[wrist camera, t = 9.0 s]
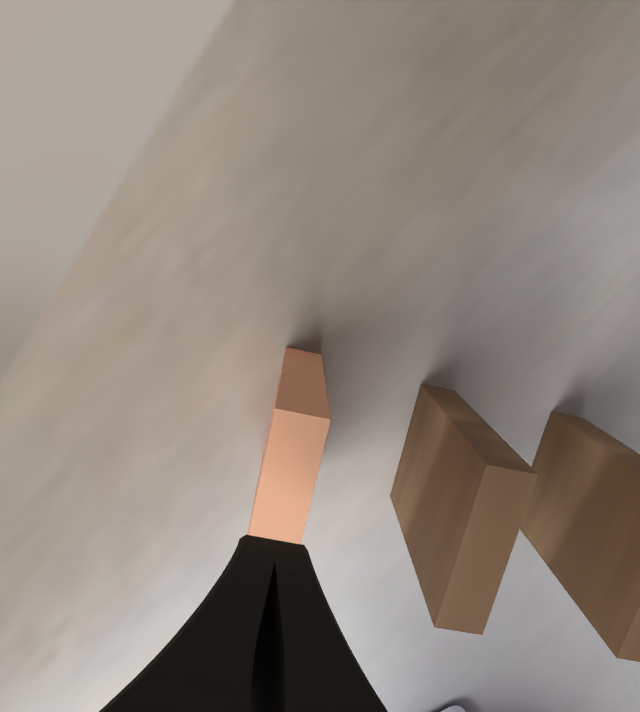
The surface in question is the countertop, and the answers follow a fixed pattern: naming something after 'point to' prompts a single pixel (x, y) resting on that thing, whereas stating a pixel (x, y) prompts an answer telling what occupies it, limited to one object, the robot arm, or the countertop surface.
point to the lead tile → (292, 449)
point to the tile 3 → (590, 525)
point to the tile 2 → (458, 507)
